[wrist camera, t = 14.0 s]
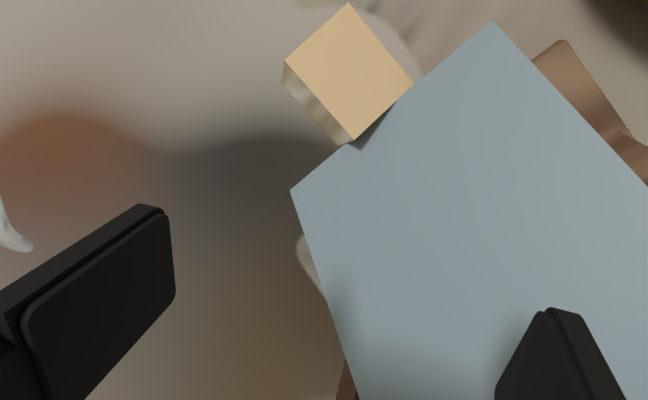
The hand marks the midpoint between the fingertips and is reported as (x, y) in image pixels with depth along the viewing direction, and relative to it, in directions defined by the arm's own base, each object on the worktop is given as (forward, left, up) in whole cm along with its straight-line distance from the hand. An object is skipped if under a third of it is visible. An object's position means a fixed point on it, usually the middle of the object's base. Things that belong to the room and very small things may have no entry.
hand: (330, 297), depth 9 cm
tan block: (+1, 0, -17) cm, 17 cm away
